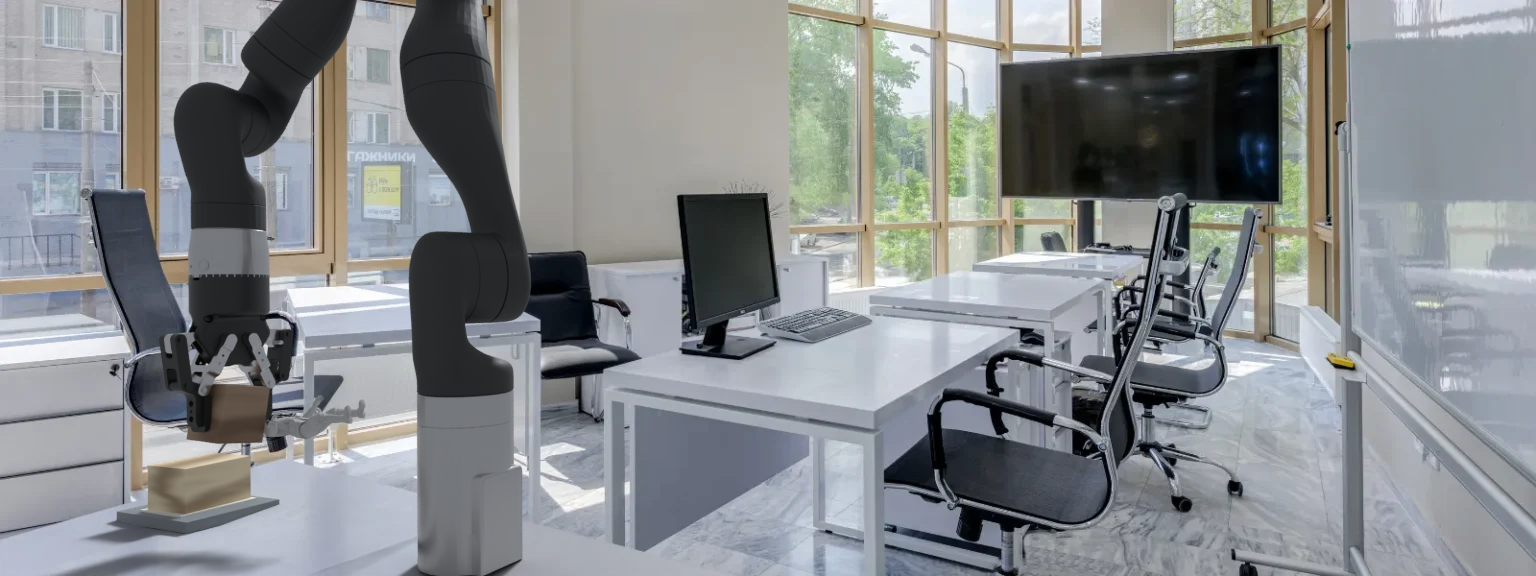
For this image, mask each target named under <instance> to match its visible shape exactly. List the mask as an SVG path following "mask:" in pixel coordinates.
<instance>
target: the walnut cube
mask: <svg viewBox="0 0 1536 576" xmlns="http://www.w3.org/2000/svg"><path fill="white" fill-rule="evenodd" d="M269 390H270V387H261V386H251V384H250V385H249V384H239V383H237V384H236V383H215V382H214V383H213V385H212V387H211V389H210V392H209V393H208V395H207V396H211V427H210V430H209V431H208V432H202V433H201V432H193V431H192V430H191V427H188V426H187V434H186V439H185V440H187V441H188V440H189V441H195V442H202V443H209V444H218V445H220V444H221V445H225V444H226V445H228V444H231V445H232V444H261V443H263V441H264V440H263V438H264V437H263V433H264V426H265V419H266V412H267V405H268V398H269Z"/></svg>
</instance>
